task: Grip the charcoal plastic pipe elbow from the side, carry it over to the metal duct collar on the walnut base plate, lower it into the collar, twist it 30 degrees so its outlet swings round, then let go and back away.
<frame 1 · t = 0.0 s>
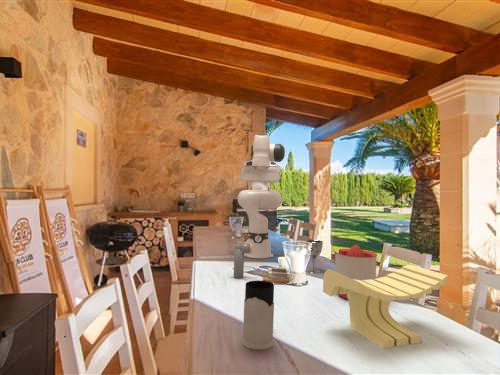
hand: (259, 190, 172), 39 cm above the table, tool pointing down, fingers open, 8 cm apart
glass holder: (260, 337, 90), on the table
citrus juicer: (351, 296, 128), on the table
slatted curved stool: (381, 333, 96), on the table
pipe elbow: (238, 277, 148), on the table
collar plate: (278, 279, 147), on the table
wine glass: (313, 271, 164), on the table
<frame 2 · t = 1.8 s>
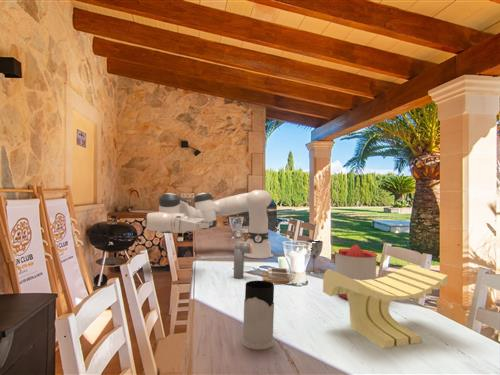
hand: (211, 224, 149), 23 cm above the table, tool horizontal, fingers open, 8 cm apart
nothing on the table moved.
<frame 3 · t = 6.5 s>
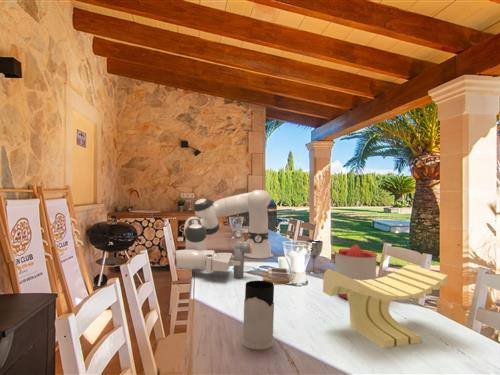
hand: (241, 261, 148), 7 cm above the table, tool horizontal, fingers closed on pipe elbow, 4 cm apart
pipe elbow: (238, 277, 148), on the table, touching gripper
everything else where it was.
when the fingers open (9 cm above the table, at t = 13.4 s): pipe elbow drops 1 cm, resting on collar plate.
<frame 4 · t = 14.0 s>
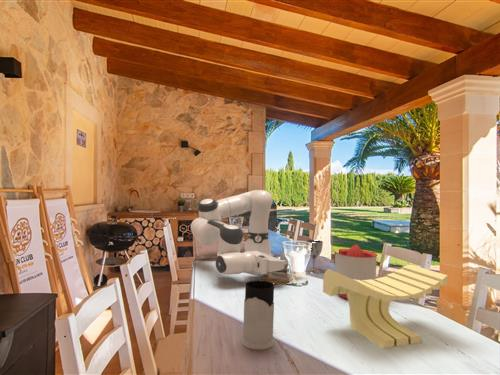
hand: (281, 259, 147), 9 cm above the table, tool horizontal, fingers open, 8 cm apart
pipe elbow: (279, 278, 147), point 1 cm above the table, tilted 20°, touching collar plate
everything else where it was.
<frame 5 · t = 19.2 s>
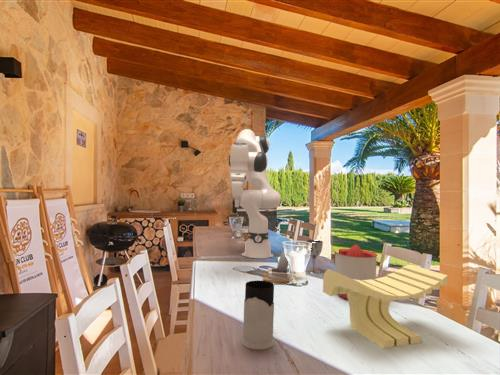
hand: (237, 206, 155), 31 cm above the table, tool pointing down, fingers open, 8 cm apart
nothing on the table moved.
at the end: pipe elbow 0.2 cm off-centre on the collar plate, point 0.7 cm above the collar plate's base; pipe elbow tilted 20°; the gripper is holding nothing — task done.
